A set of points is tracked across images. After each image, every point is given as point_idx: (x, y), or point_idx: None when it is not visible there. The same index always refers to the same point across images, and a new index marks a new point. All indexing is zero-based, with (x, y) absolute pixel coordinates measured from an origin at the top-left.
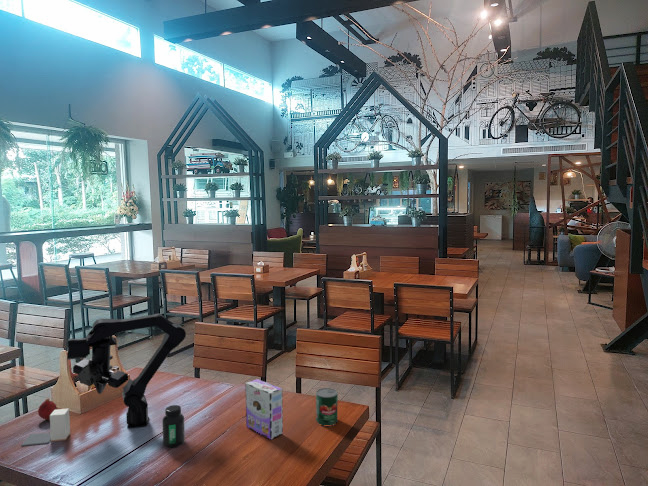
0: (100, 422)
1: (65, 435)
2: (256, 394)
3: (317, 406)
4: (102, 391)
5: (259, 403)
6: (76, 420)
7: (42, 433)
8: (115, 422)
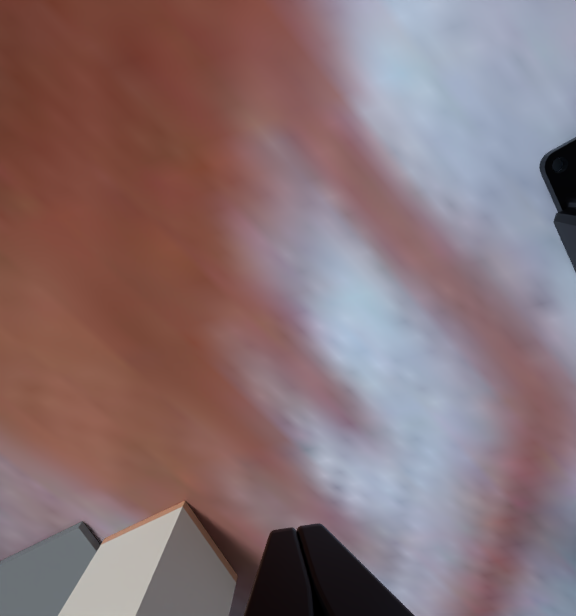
0: (268, 289)
1: (230, 605)
2: None
3: None
4: (337, 545)
5: None
6: (35, 319)
7: (10, 563)
8: (408, 248)
